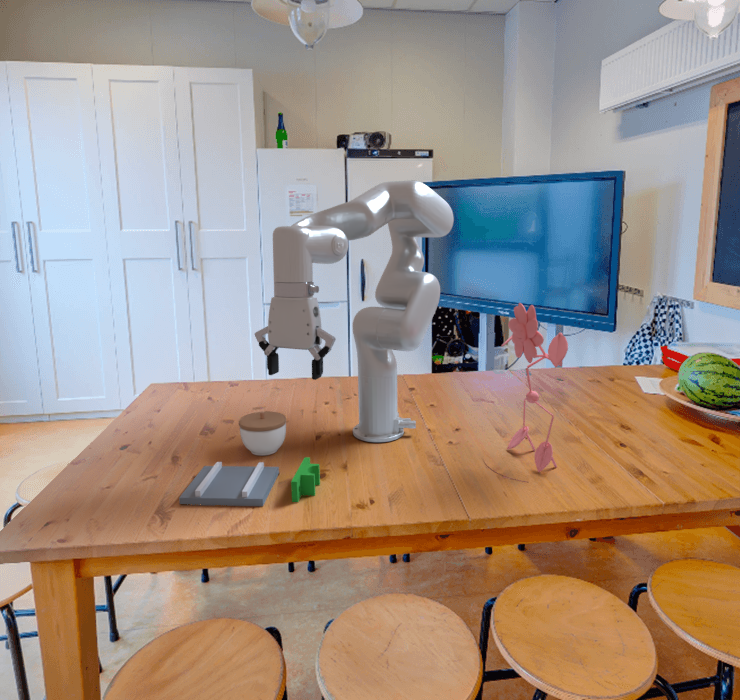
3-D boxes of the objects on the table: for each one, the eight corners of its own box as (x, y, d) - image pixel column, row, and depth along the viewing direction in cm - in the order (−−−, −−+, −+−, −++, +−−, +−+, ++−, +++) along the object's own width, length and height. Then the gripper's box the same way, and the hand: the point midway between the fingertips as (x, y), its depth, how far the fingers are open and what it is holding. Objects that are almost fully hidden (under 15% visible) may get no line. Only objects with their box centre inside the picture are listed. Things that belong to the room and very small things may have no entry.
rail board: (279, 473, 121) (278, 461, 120) (263, 506, 108) (262, 493, 107) (204, 472, 122) (203, 460, 121) (179, 504, 109) (178, 491, 108)
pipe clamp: (311, 504, 108) (310, 482, 107) (292, 503, 109) (290, 481, 108) (323, 477, 119) (322, 457, 118) (305, 476, 120) (304, 456, 119)
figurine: (520, 436, 139) (524, 292, 130) (582, 483, 114) (592, 311, 106) (461, 444, 135) (461, 297, 127) (512, 495, 111) (516, 317, 103)
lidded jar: (247, 441, 139) (244, 404, 136) (291, 441, 138) (289, 404, 136) (235, 460, 128) (232, 420, 126) (283, 460, 128) (281, 420, 126)
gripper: (341, 291, 112) (341, 375, 116) (264, 287, 118) (266, 368, 122) (326, 294, 105) (326, 384, 109) (244, 290, 111) (247, 376, 115)
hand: (295, 375), depth 115 cm, fingers open, 9 cm apart
